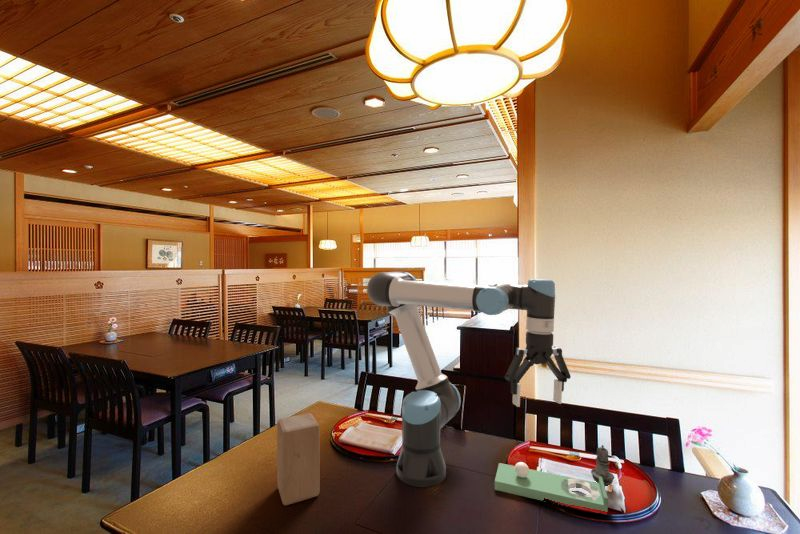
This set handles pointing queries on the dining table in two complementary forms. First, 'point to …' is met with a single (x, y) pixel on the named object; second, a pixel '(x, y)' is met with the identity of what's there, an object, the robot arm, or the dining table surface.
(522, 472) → the ball
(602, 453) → the dark grey figurine
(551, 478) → the green flat block
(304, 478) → the wooden block
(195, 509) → the dining table surface
